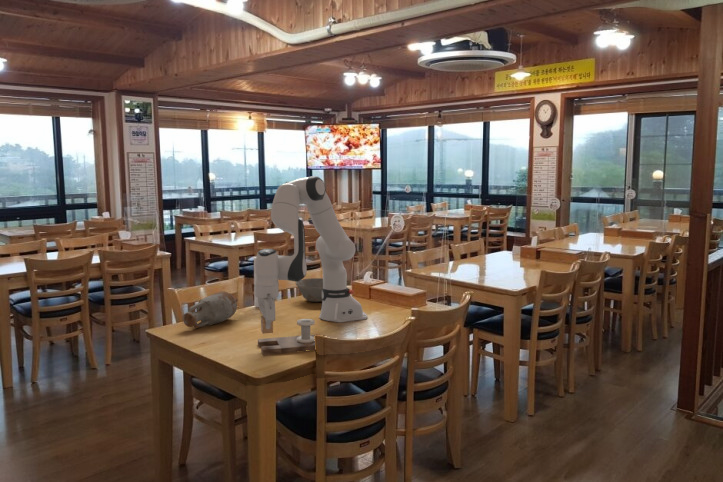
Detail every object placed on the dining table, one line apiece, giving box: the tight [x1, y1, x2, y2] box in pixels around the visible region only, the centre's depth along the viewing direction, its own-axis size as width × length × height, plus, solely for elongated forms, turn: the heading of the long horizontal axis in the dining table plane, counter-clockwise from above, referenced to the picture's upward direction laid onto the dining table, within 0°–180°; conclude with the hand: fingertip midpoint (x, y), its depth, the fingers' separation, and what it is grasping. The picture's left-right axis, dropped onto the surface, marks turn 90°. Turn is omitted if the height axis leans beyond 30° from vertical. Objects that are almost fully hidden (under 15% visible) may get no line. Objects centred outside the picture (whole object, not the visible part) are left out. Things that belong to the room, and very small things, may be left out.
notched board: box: [257, 334, 316, 356], centre depth 228 cm, size 24×14×2 cm, turn 108°
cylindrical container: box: [253, 256, 259, 308], centre depth 290 cm, size 7×7×25 cm
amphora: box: [182, 290, 239, 329], centre depth 259 cm, size 14×16×30 cm
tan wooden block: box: [260, 315, 274, 335], centre depth 224 cm, size 4×4×6 cm
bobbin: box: [296, 318, 316, 343], centre depth 229 cm, size 7×7×8 cm
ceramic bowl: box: [295, 277, 323, 303], centre depth 304 cm, size 22×23×10 cm
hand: (266, 326), depth 224 cm, fingers closed on tan wooden block, 4 cm apart
